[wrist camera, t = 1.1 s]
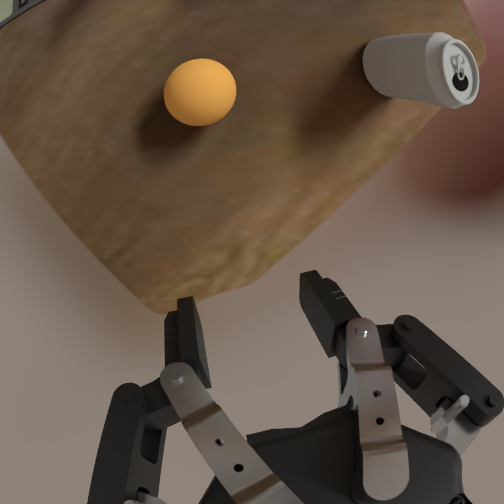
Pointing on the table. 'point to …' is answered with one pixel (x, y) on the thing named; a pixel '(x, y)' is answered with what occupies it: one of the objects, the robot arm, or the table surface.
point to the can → (422, 68)
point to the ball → (199, 92)
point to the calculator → (14, 9)
